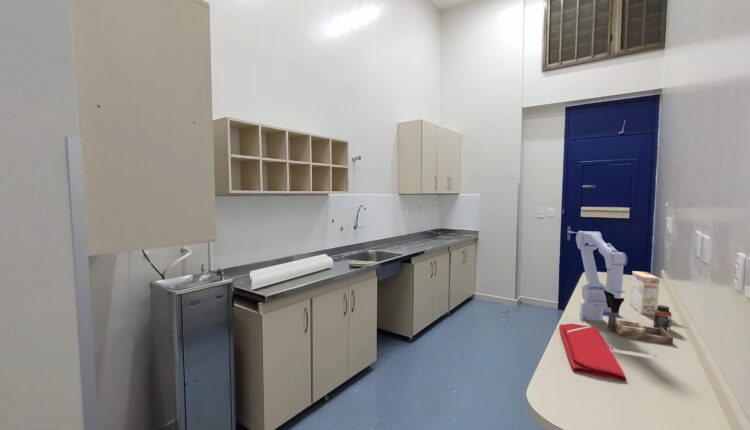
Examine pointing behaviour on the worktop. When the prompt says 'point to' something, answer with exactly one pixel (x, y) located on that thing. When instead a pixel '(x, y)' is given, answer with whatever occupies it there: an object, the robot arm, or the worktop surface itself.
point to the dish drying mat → (589, 352)
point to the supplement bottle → (662, 317)
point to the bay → (664, 339)
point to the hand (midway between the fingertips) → (612, 310)
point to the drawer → (624, 325)
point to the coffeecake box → (644, 292)
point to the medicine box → (608, 310)
